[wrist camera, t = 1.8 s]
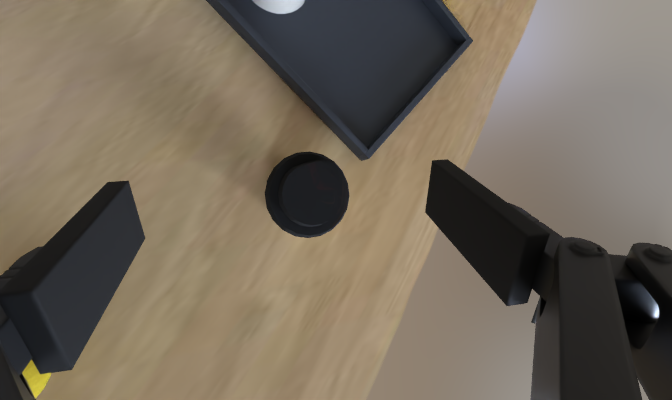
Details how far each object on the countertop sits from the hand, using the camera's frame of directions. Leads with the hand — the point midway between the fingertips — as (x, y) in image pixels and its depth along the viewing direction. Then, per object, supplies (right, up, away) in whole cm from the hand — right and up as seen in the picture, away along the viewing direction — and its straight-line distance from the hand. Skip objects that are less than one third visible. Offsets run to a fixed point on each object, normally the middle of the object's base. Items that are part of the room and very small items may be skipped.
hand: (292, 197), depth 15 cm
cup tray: (+3, +20, +22) cm, 30 cm away
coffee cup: (-3, 0, +21) cm, 21 cm away
